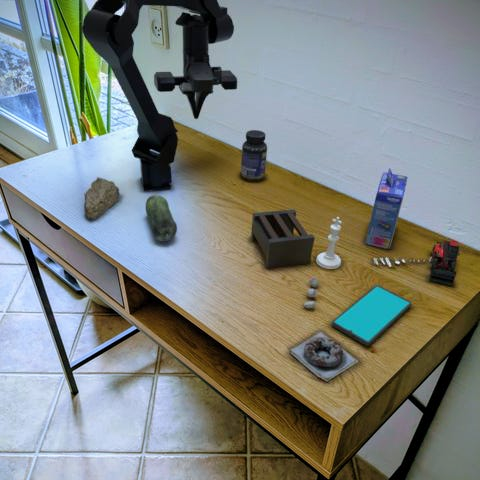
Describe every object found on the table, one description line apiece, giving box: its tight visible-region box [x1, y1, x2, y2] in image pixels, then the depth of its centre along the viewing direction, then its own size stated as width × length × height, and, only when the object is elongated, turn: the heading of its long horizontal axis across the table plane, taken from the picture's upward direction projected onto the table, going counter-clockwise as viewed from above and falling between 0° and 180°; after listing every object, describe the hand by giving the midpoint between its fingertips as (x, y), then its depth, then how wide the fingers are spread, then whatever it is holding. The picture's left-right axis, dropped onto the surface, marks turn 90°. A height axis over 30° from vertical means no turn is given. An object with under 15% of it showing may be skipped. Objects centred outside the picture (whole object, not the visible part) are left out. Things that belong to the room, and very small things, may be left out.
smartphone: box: [331, 284, 412, 347], centre depth 86 cm, size 7×1×15 cm
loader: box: [428, 237, 461, 286], centre depth 97 cm, size 12×5×5 cm, turn 162°
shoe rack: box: [250, 208, 316, 269], centre depth 98 cm, size 9×11×6 cm
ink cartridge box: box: [365, 167, 408, 250], centre depth 102 cm, size 10×6×14 cm, turn 161°
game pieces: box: [303, 277, 319, 309], centre depth 89 cm, size 8×2×2 cm
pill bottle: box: [240, 129, 268, 182], centre depth 121 cm, size 6×6×11 cm
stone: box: [83, 176, 121, 221], centre depth 108 cm, size 14×7×5 cm, turn 169°
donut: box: [289, 331, 359, 382], centre depth 77 cm, size 8×8×2 cm
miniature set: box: [373, 256, 433, 268], centre depth 99 cm, size 3×12×2 cm, turn 100°
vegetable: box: [145, 194, 178, 242], centre depth 102 cm, size 14×5×5 cm
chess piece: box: [315, 216, 343, 270], centre depth 95 cm, size 5×5×10 cm
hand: (195, 118), depth 120 cm, fingers closed
